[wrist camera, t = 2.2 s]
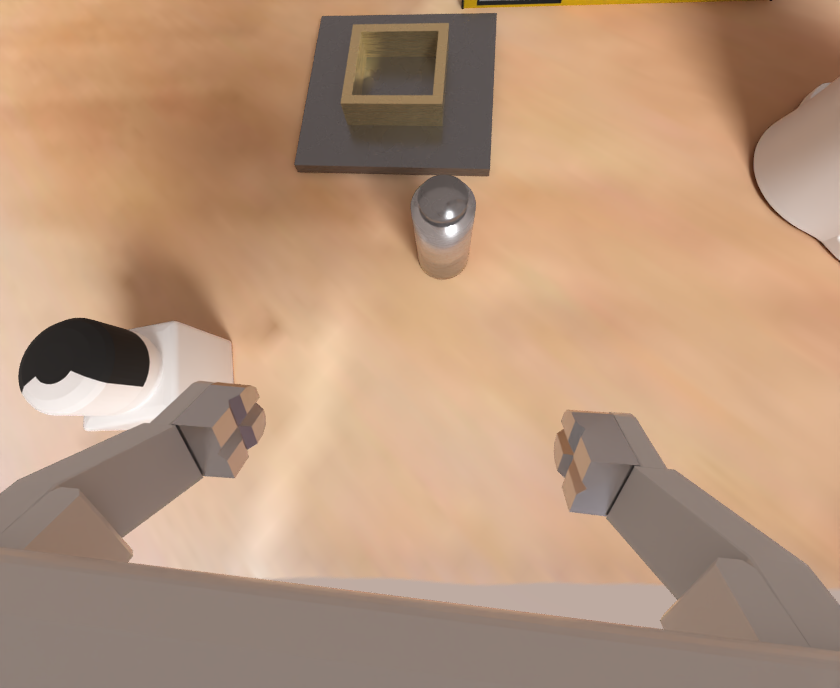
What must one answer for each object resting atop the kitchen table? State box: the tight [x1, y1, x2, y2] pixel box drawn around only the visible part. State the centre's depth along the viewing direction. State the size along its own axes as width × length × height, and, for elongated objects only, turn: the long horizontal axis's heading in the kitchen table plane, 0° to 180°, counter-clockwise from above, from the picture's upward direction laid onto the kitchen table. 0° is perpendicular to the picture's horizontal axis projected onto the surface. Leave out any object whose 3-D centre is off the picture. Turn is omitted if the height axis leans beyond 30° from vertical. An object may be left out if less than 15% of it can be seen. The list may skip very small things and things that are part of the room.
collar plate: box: [294, 13, 497, 176], centre depth 35 cm, size 20×20×4 cm
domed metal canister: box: [411, 175, 476, 279], centre depth 28 cm, size 5×5×9 cm
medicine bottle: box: [18, 318, 234, 431], centre depth 26 cm, size 7×7×12 cm
